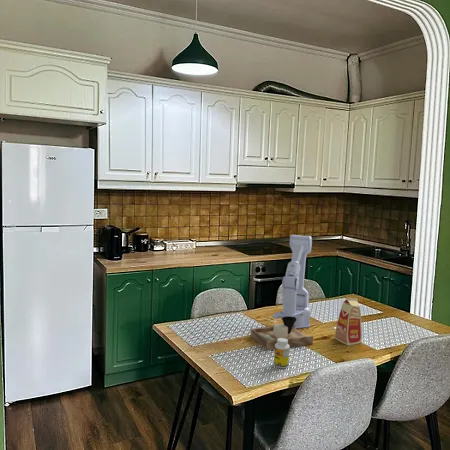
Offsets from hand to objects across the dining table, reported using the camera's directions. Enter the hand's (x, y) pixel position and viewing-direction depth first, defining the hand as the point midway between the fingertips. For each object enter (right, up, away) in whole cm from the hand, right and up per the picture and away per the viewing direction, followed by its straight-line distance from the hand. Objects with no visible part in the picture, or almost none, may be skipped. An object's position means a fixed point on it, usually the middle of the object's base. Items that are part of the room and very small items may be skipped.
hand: (288, 332), depth 193 cm
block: (-4, -1, -1) cm, 4 cm away
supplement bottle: (-6, -6, -27) cm, 28 cm away
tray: (-3, -3, -1) cm, 4 cm away
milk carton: (+27, -4, +2) cm, 27 cm away
